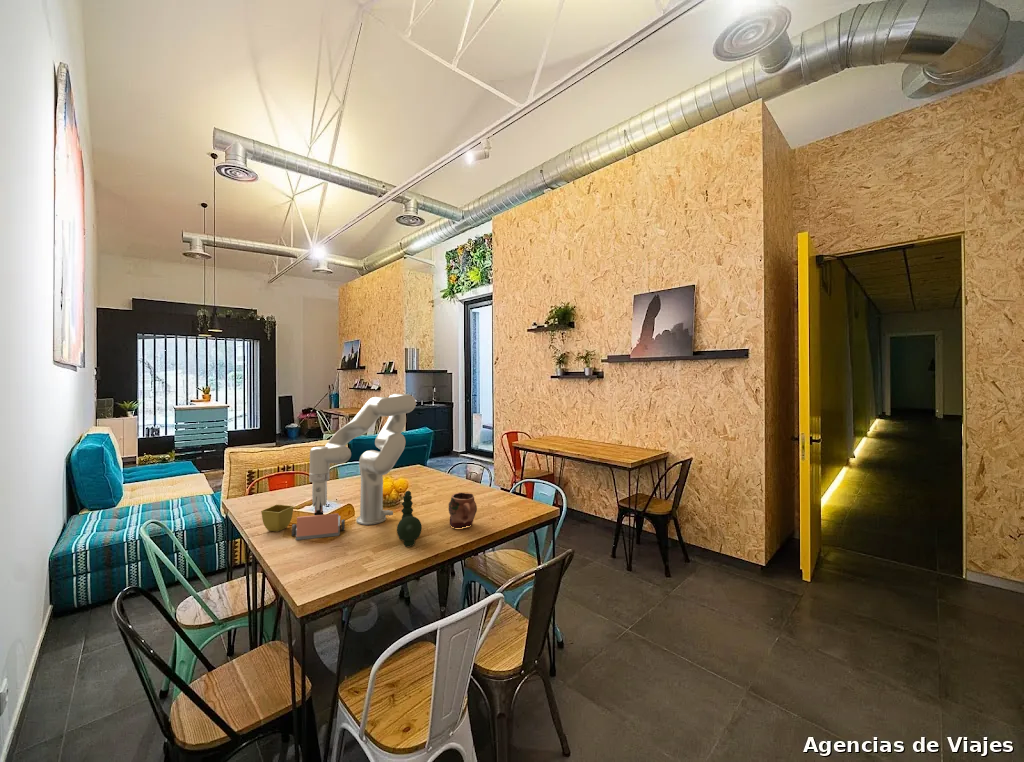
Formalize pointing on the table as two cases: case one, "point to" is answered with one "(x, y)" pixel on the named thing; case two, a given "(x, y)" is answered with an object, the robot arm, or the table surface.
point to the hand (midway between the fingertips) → (318, 521)
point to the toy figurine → (408, 522)
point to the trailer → (294, 532)
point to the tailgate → (317, 525)
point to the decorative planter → (462, 510)
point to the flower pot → (277, 517)
